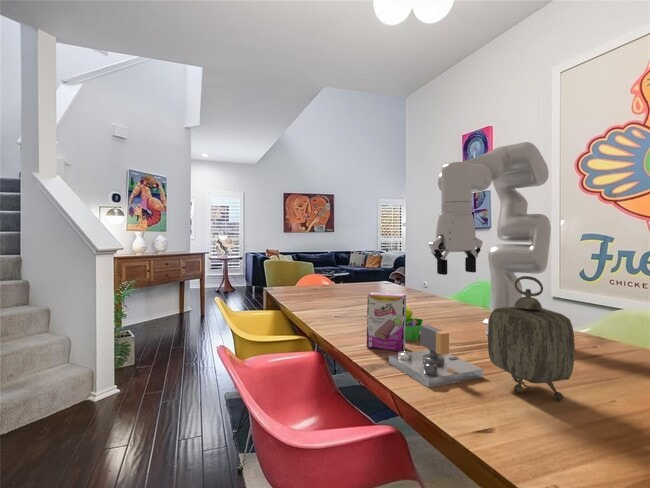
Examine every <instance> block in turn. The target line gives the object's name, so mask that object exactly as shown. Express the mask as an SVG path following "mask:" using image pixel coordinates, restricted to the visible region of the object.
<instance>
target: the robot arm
mask: <svg viewBox="0 0 650 488" xmlns="http://www.w3.org/2000/svg"><path fill="white" fill-rule="evenodd" d="M549 171H550V170H549V168H548V165H547V162H546V160H545V159H544V157H543V155H542V153H541V151H540V150H539V148H538V147H537V146H536V145H535V144H534V143H531V142H530V141H524V142H519V143H513V144H509V145H507V144H506V145H502V146H498V147H495V148H494V149H491V150H489V151H488V152H485V153H484V154H482V155H478V156H475V157H472V158H470V159H468V160H464V161H452V162H448V163H445V164H443V166H442V167H441V171H440V173H439V176H438V179H437V185H438V188H439V190H440V191H441V195H440V196H441V214H439V215H438V219H437V224H436V230H435V231H436V232H435V238H434V239H433V240H432V241H430V242H429V243H428V246H429V249H430V251H431V254H432V255H433V256H434V259H436V268H437V271H436V273H437V274H438V275H442V276H444V275H445V276H446V275H448V259H446V258H447V256H448V255H449V254H450V253H461V252H464V254H465V255H466V256H465V258H464V259H465V262H464V264H465V265H464V268H465V272H466V273H476V272H477V258H478V256H479V253H480V252H481V251H482V249H481V248H482V246H483V241H482V240H481V239H480V238H478V237H477V236H476V225H475V220H474V215H473V214H472V211H473V209H474V206H473V204H472V196H473V195H472V193H478V192H483V191H485V190H487V189H489V188H490V186H491V185H492V184H493V187H494V189H495V192H496V194H497V196H498V199H499V204H500V205H499V213H498V221H497V226H496V227H497V228H496V235H497V237H498V239H499V240H500V241H503V242H509V243H502V244H496V245H493V246H492V247H490V248H489V250H488V253H487V261H488V265H489V271H490V314H489V316H490V315H491V313H492V312H493V311H494V309H497V308H506V307H516V306H514V305H515V303H516V301H517V300H518V299H519V298H521V297H523V294H521V293H519V292H518V291H517V290H516V288H515V281H516V280H517V279H518V278H519V277H517V275H516V274H517V273H518V274H519V273H520V274H531V275H535V274H543V273H544V272H545V271H546V269H547V266H548V262H549V261H548V259H549V254H550V253H549V252H550V242H551V232H552V231H551V229H552V228H551V227H552V226H551V221H550V219H549V218H548V216H547V215H545V214H542V213H528V206H529V203H528V200H527V199H526V198H525V196H523V195H522V194H521V193H520V192H519V191H518V190H517V189H521V188H522V189H524V188H531V187H532V188H533V187H539V186H543V185H544V184H546V182H547V181H548V179H549ZM520 243H522V244H520ZM523 243H524V244H523ZM525 243H531V244H525ZM515 273H516V274H515ZM517 287H518V289H520V290H521V291H523V285H522V282H521V280H520V281H518V283H517ZM482 325H486V326H488V325H489V318H485V319H484V320H483V321H482ZM484 332H485V334H486V335H487V336H488V328H486V329H485V331H484Z"/></svg>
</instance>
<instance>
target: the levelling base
mask: <svg viewBox="0 0 650 488" xmlns="http://www.w3.org/2000/svg"><path fill="white" fill-rule="evenodd" d="M429 352H430V349H426V350H420V351H412V352H411V351H408V350H404V351H400V352H399V351H397V354H391V355H388V363H389V365H391V366H393V367H395V368H397V369H398V370H399V371H401V372H402V373H404V374H406V375H407V376H409V377H410V378H412V379H414V380H416V381H417V382H418V383H419V384H422V385H423V386H424V387H427V388H429V389H430V388H435V387H440V386H445V385H451V384H456V383H462V382H466V381H471V380H476V379H483V378H484V368H482V367H480V366H477V365H475V364H473V363H471V362H469V361H466V360H464V359H462V358H459V357H457V356H454V355H453V354H450V353H449V354H445V355H440V356H442V357H444V359H445V361H444V363H443V364H439V365H437V364H435V363H432V362H424V361H423V355H426V354H429ZM438 355H439V354H438Z"/></svg>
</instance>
